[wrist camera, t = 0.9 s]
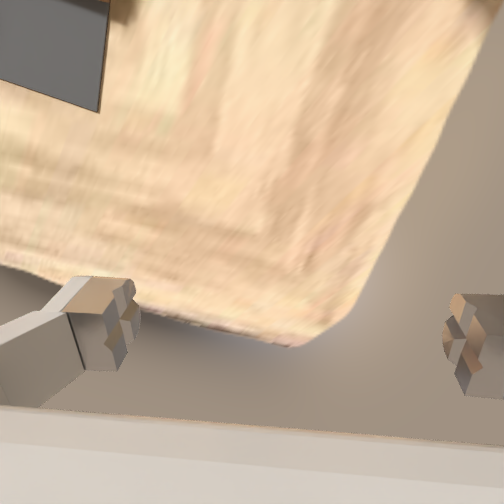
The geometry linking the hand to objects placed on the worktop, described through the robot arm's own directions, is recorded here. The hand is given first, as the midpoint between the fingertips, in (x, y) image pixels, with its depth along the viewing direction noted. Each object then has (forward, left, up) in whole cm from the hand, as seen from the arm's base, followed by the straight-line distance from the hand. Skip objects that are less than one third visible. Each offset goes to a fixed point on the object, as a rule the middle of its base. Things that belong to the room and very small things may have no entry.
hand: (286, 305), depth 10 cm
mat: (+3, -32, -41) cm, 52 cm away
